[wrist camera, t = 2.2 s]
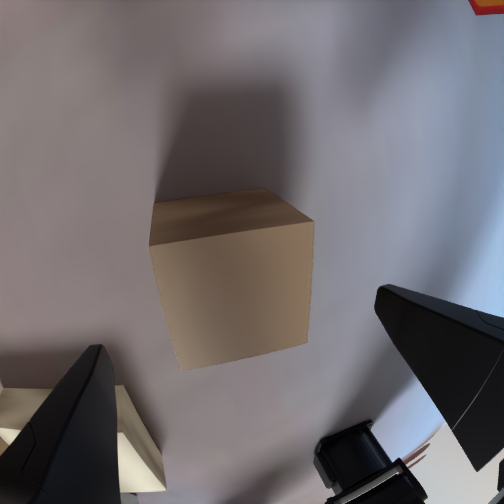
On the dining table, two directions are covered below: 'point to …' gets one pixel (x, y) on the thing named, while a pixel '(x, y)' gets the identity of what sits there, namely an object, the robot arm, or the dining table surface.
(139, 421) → the cream square block
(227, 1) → the dining table surface
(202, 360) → the walnut cube
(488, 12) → the baking soda box
